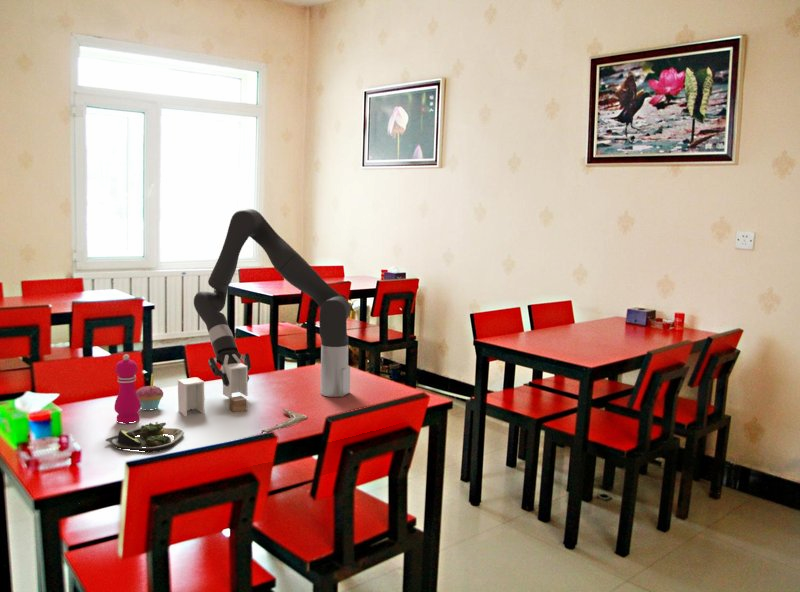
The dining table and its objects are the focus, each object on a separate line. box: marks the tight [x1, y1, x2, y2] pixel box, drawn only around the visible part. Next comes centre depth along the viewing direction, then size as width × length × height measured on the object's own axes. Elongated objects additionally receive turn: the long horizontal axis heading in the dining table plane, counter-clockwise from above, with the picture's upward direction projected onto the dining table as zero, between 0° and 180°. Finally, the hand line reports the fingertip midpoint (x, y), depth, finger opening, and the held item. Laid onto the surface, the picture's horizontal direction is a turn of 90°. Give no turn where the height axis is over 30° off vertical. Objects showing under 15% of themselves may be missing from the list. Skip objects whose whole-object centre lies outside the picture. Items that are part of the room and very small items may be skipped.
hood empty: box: [177, 376, 205, 417], centre depth 212 cm, size 6×6×10 cm
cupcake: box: [135, 373, 164, 410], centre depth 215 cm, size 9×8×12 cm
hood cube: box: [222, 362, 249, 399], centre depth 226 cm, size 6×6×10 cm
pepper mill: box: [114, 354, 141, 423], centre depth 202 cm, size 7×7×20 cm
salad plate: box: [105, 421, 185, 453], centre depth 189 cm, size 19×18×5 cm
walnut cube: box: [228, 395, 247, 414], centre depth 216 cm, size 4×4×4 cm
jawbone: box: [261, 407, 308, 434], centre depth 205 cm, size 9×20×2 cm, turn 172°
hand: (237, 383), depth 225 cm, fingers closed on hood cube, 6 cm apart
